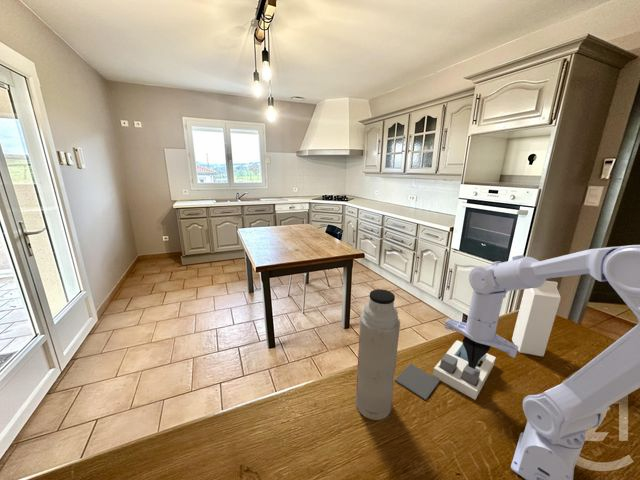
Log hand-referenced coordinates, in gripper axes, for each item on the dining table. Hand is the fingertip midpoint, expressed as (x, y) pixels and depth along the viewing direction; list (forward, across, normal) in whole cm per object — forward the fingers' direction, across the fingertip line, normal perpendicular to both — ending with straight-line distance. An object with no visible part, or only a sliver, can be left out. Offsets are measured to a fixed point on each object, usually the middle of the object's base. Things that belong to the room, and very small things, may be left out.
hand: (472, 365), depth 63 cm
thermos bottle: (+6, +14, +21) cm, 26 cm away
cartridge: (+6, +2, -9) cm, 11 cm away
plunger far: (+5, +5, 0) cm, 7 cm away
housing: (+6, +2, -5) cm, 8 cm away
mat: (+6, +10, +8) cm, 14 cm away
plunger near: (+5, 0, 0) cm, 5 cm away
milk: (+7, -8, -28) cm, 30 cm away
